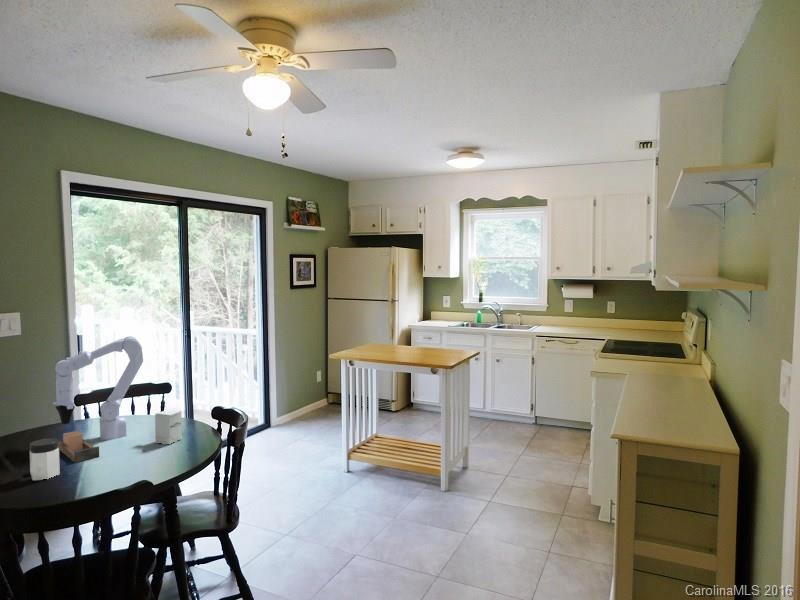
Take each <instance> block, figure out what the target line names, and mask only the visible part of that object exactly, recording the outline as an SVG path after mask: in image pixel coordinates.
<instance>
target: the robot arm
mask: <svg viewBox="0 0 800 600" xmlns="http://www.w3.org/2000/svg"><path fill="white" fill-rule="evenodd" d="M123 350H124V351H125V353H126V355H127V357H128V359H129V362H128V364H127V365H126V366H125V369H124V371H123V373H122V374H121V376H120V378H119V380H118V382H117V383H116V384H115V387H114V389H113V391H112V392H111V394H110V395H109V396H108V397H107V399H106V400H105V401H104V402H103V403H102V404H101V405H100V407H99V408H100V409H99V411H100V416H101V417H100V418H99V439H100V440H101V441H110V440H111V441H113V440H116V439H119V438H123V437H127V421H126V418H125V416H120V415H119V413H120V407H121V405H122V402H123V399H124V397H125V396H126V393H127V392H128V390H129V389H130V386H131V384H132V383H133V381H134V379H135V377H136V375H137V373H138V372H139V370H140V368H141V367H142V366H143V363H144V354H143V347H142V345H141V343H140V342H139V341H138V339H137V338H136V337H134V336H129V335H128V336H126V337H124V338H119V339H117V340H114V341H112V342H110V343H107V344H105V345H103V346H101V347H99V348H97V349H95V350H92V351H86V350H84V351H82V350H80V351H78V354H75V355H73V356H70V357H66V358H65V359H62V360H60V361H58V362H57V363H56V364H55V367H54V368H55V373H56V374H55V378H56V379H55V395H56V397H55V398H56V401H54V402H52V405H54V406H55V405H57V406H55V409H56V410H57V413H58V415H59V418H60V423H61V424H63V425H69V424H70V422H71V417H72V414H73V411H74V410H75V405H74V403H75V400H74V380H73V376H72V374H73V371H79V370H81V369H83V368H85V367H87V366H90V365H92V364H93V362H94V360H96V359H98V358H101V357H103V356H106V355H108V354H111V353H113V352H119V353H123Z"/></svg>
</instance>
